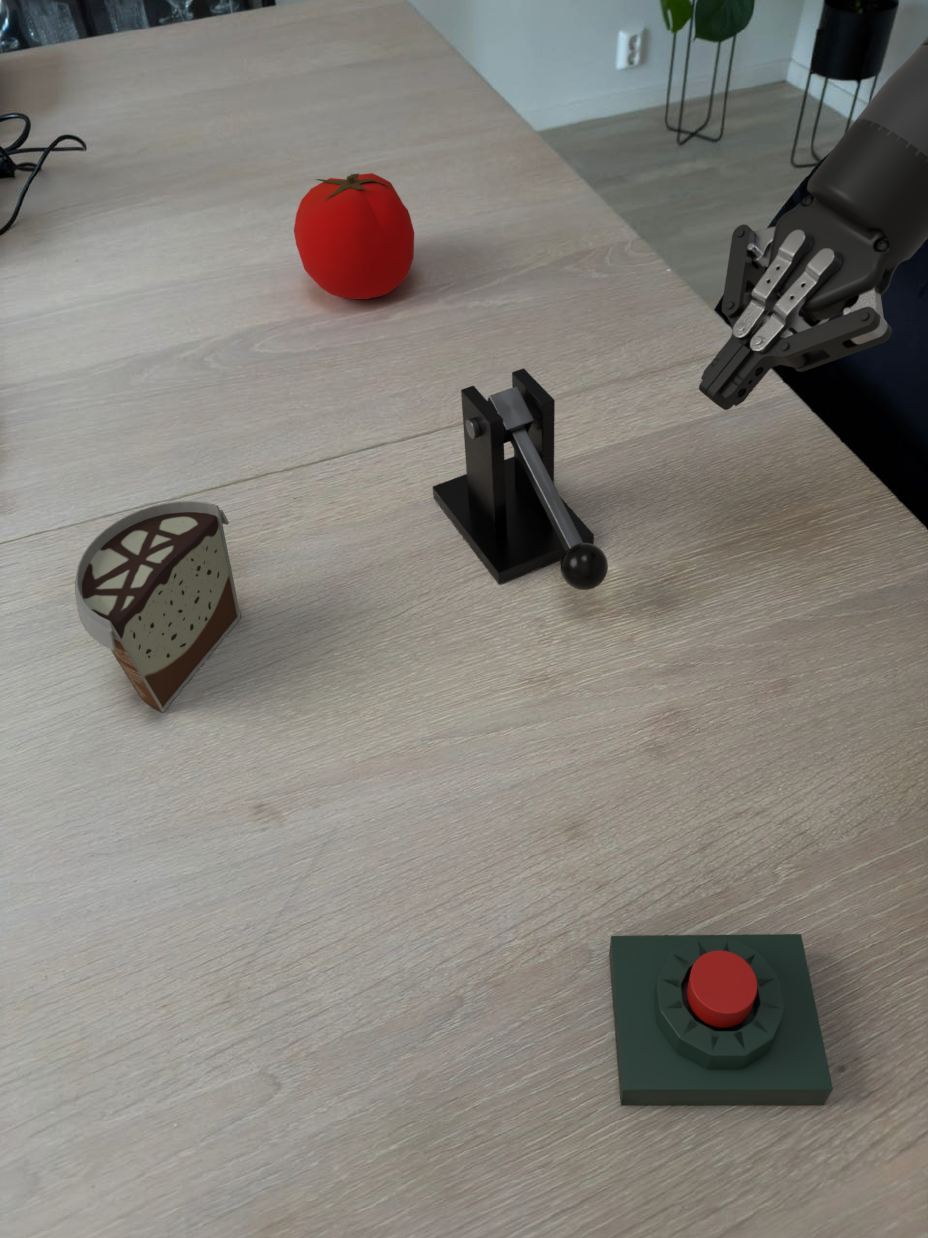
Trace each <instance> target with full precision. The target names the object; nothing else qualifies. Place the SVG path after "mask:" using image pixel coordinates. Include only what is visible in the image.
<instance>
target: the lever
mask: <svg viewBox="0 0 928 1238" xmlns="http://www.w3.org/2000/svg"><path fill="white" fill-rule="evenodd" d="M486 400H487V401H488V402H489V403H490V405H491V406H492V407H493V408H494V409H495V410H496V411H497V412H498V413H499V415H500V416H501V417H502V418H503V431H504V444H506V443H510V444H511V446H512V448H513V451H514V450H515V452H516V454H517V456H518V458H519V460H520V462H521V464H522V466H523V468H524V470H525V472H526V474H527V476H528V478H529V480H530V482H531V484H532V486H533V488H534V490H535V492H536V494H537V496H538V498H539V500H540V502H541V504H542V506H543V508H544V510H545V512H546V514H547V516H548V518H549V520H550V521H551V523H552V525H553V527H554V529H555V531H556V533H557V535H558V537H559V539H560V541H561V543H562V545H563V547H564V549H565V551H566V552H565V553H564V555H563V557H562V559H561V560H560V574H561V576H562V578H563V580H564V581H565V582H566V584H567V585H569V587H572V588H574V589H575V590H579V591H589V590H592V589H594V588H597V587H598V586H600V585H601V584H602V582H604V580H605V579H606V576H607V574H608V570H609V564H608V563H609V562H608V559H607V556H606V554H605V552H604V551H603V550H602V549H601V548H600V547H598V546H597V545H595V544H594V545H593V544H590V543H583V541H582V539H581V537H580V535H579V533H578V531H577V529H576V527H575V525H574V523H573V521H572V519H571V518H570V516H569V514H568V512H567V510H566V508H565V506H564V504H563V502H562V500H561V498H562V497H561V495H560V494H559V491H558V489H557V488H556V486H555V483H554V484H553V482H552V480H551V478H550V476H549V474H548V472H547V470H546V468H545V466H544V464H543V462H542V460H541V458H540V456H539V454H538V452H537V450H536V448H535V446H534V445H533V443H532V441H531V439H530V437H529V435H528V431H529V429H530V427H531V425H532V423H533V421H534V419H533V417H532V415H531V413H530V411H529V409H528V407H527V405H526V403H525V401H524V399H523V397H522V395H521V393H520V391H519V389H518V388H517V386H516V387H513V388H512V387H511V388H508V389H505V390H502V391H500V392H496V393H493V394H491V395H489V396H488V398H487V399H486ZM560 497H561V498H560Z"/></svg>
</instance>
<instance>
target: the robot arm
mask: <svg viewBox="0 0 928 1238" xmlns="http://www.w3.org/2000/svg"><path fill="white" fill-rule="evenodd" d="M926 240H928V35H927V36H926V38H925V39H923V41H922V42H921V44H920V45H919V46H918V47H917V48H916V50H915V51H914V52H913V53H912V54H911V55H910V56H909V57H908V59H906V60H905V61H904V62H903V64H902V65H900V66H899V67H898V68H897V69H896V71H894V72H893V73H892V74H891V75H890V77H889V78H888V79H887V80H886V81H885V82H884V83H883V85H882V86H881V87H880V89H878V91H877V93H876V94H875V95H874V96H873V97H872V99H871V100H870V101H869V102H868V104H867V105H866V107H864V109H863V110H862V111H861V113H860V114H859V115H858V117H856V119H855V120H854V121H853V123H852V124H851V126H849V128H848V130H846V132H845V133H844V135H843V136H842V137H841V138H840V139H839V141H838V142H837V144H836V145H835V146H834V147H833V149H832V150H831V151H830V152H829V154H828V155H826V158H824V160H823V161H822V163H821V164H820V165H819V167H818V168H817V169H816V170H815V171H814V173H813V174H812V175H811V177H810V178H809V179H808V181H807V185H806V190H805V193H804V197H803V198H802V200H801V201H800V202H799V203H798V204H797V205H796V206H795V207H793V208H792V209H790V210H789V211H787V212H786V213H784V214H782V216H781V217H780V218H779V219H778V221H777V222H776V225H775V226H771V227H766V228H761V229H757V230H753V229H752V228H751V227H750V226H748V224H741V225H737V227H736V228H734V231H733V232H732V235H731V242H730V248H729V255H728V262H727V269H726V276H725V283H724V289H723V296H722V303H721V312H722V314H724V315H725V316H726V317H727V319H728V322H729V324H730V326H731V329H732V331H731V335H730V337H729V339H728V340H727V341H726V343H725V344H724V345H723V346H722V347H721V349H720V350H719V351H718V353H717V354H716V355H715V357H714V358H713V359H712V360H711V361H710V363H709V364H708V365H707V366H706V368H705V369H704V370H703V373H702V375H701V377H700V379H701V382H700V383H699V385H698V390H699V391H700V392H701V393H702V395H705V397H707V398H708V399H709V400H710V401H712V402H713V403H714V404H715V405H717V406H718V407H719V408H721V409H722V410H724V411H729V410H730V409H731V408H732V407H734V406H735V407H737V406H739V405H740V404H742V403H743V402H744V401H745V400H746V399H747V398H748V397H749V395H750V394H751V393H752V392H753V390H754V389H755V388H756V387H757V385H759V384H760V382H761V381H762V380H763V378H765V376H766V375H767V373H768V372H769V371H770V370H771V369H772V368H774V367H778V366H779V365H780V366H786V367H790V368H793V369H794V370H795V371H797V372H800V373H803V372H807V371H809V370H811V369H814V368H817V367H820V366H823V365H825V364H828V363H831V362H834V361H837V360H839V359H842V358H846V357H848V356H850V355H853V354H856V353H859V352H861V351H862V352H863V351H865V350H868V349H870V348H873V347H875V346H878V345H882V344H883V343H884V344H885V343H886V342H888V340H889V339H890V338H891V336H892V333H893V328H892V327H891V326H890V324H889V323H887V320H886V319H885V318H884V317H885V316H884V311H883V303H882V296H883V295H884V294H885V293H886V292H887V291H888V289H889V288H890V285H891V282H892V278H893V276H894V273H895V272H896V269H897V268H898V266H899V265H900V264H901V263H902V262H906V261H908V260H910V259H911V258H912V257H913V256H914V255H915V254H916V253H917V251H918V250H919V249H920V248H921V247H922V246H923V245H924V243H925V242H926ZM766 268H767V269H766ZM765 270H766V271H765ZM778 297H780V298H779V299H778ZM800 311H801V313H803V314H802V315H799V313H800ZM841 314H842V315H841ZM839 315H840V316H839ZM836 316H837V317H836ZM831 318H833V319H831Z"/></svg>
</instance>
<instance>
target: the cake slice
mask: <svg viewBox="0 0 928 1238" xmlns="http://www.w3.org/2000/svg"><path fill="white" fill-rule="evenodd" d="M229 524H230V522H229V520H228V517H227V516H226V514H225V512H224V510H223V509H220V508H219V505H218V504H214V503H210V502H205V501H196V500H179V501H172V502H171V501H170V502H164V503H160V504H155V505H151V506H148V507H145V508H141V509H139V510H136V511H135V512H131V513H129V514H128V515H126V516H124V517H122V518H120V519H118V520H116V521H115V522H113V523H112V524H110V525H109V526H108V527H106V528H105V529H104V530H103V531H102V532H100V533H99V534H98V535H97V536H96V537H95V538H94V539H93V540H92V541H91V542H90V544H89V545H88V546H87V547H86V549H85V551H84V553H83V554H82V556H81V558H80V560H79V563H78V565H77V570H76V574H75V581H74V596H75V602H76V603H75V604H76V609H77V613H78V617H79V621H80V623H81V625H82V626H83V628H84V630H85V631H86V633H88V634H89V636H90V637H92V639H93V640H95V641H96V642H98V643H99V644H100V645H102V646H103V647H105V648H107V649H109V650H110V651H111V653H112V655H113V656H114V658H115V659H116V661H117V662H118V664H119V666H120V668H121V669H122V671H123V672H124V673H125V675H126V677H127V679H128V681H129V682H130V684H131V685H132V687H133V688H134V690H135V692H136V693H137V695H138V696H139V698H140V699H141V700H142V701H143V702H144V703H145V704H147V705H148V706H149V707H150V708H151V709H153V710H156V711H157V712H159V713H161V714H163V713H164V712H165V711H166V710H167V708H168V707H169V706H170V705H171V704H172V702H173V701H174V700H175V699H176V698H177V696H179V694H180V693H181V692H182V690H183V689H184V688H185V687H186V685H187V684H188V683H189V682H190V681H191V680H192V679H193V677H194V676H195V675H196V673H197V672H198V671H199V670H200V668H201V667H202V666H203V665H204V664H205V663H206V661H207V660H208V659H209V658H210V656H211V655H213V653H214V651H216V649H217V648H218V647H219V646H220V644H221V643H222V642H223V640H224V639H225V638H226V637H227V636H228V635H229V633H230V632H231V631H232V630H233V628H234V627H235V626H236V625H237V623H239V622H240V620H241V619H242V616H241V611H240V607H239V606H240V605H239V600H238V597H237V596H238V595H237V590H236V586H235V580H234V576H233V571H232V566H231V565H232V564H231V561H230V556H229V551H228V546H227V540H226V535H225V530H224V525H227V526H228V525H229Z"/></svg>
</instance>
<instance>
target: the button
mask: <svg viewBox="0 0 928 1238" xmlns="http://www.w3.org/2000/svg"><path fill="white" fill-rule="evenodd" d="M756 994H757V979H756V976H755V973H754V971H753V970H752V968H751V967H750V965H749V964H748V963H747V962H746V961H745V960H744V959H742V958H741V957H740V956H738V955H736V954H734V953H731V952H728V951H712V952H708V953H706V954H704V955H702V956H701V957H700V958H698V959H697V961H696V962H695V963H694V965H693V967H692V969H691V973H690V978H689V982H688V987H687V998H688V1002H689V1005H690V1007H691V1009H692V1010H693V1012H694V1013H695V1014H696V1015H697V1016H698V1017H699V1018H700V1019H701V1020H702V1021H704V1022H705V1023H707V1024H709V1025H712V1026H715V1027H720V1028H728V1027H733V1026H736V1025H738V1024H740V1023H741V1022H743V1021H744V1020H745V1019H746V1018H747V1017H748V1015H749V1013H750V1012H751V1009H752V1006H753V1003H754V1000H755V997H756Z"/></svg>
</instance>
